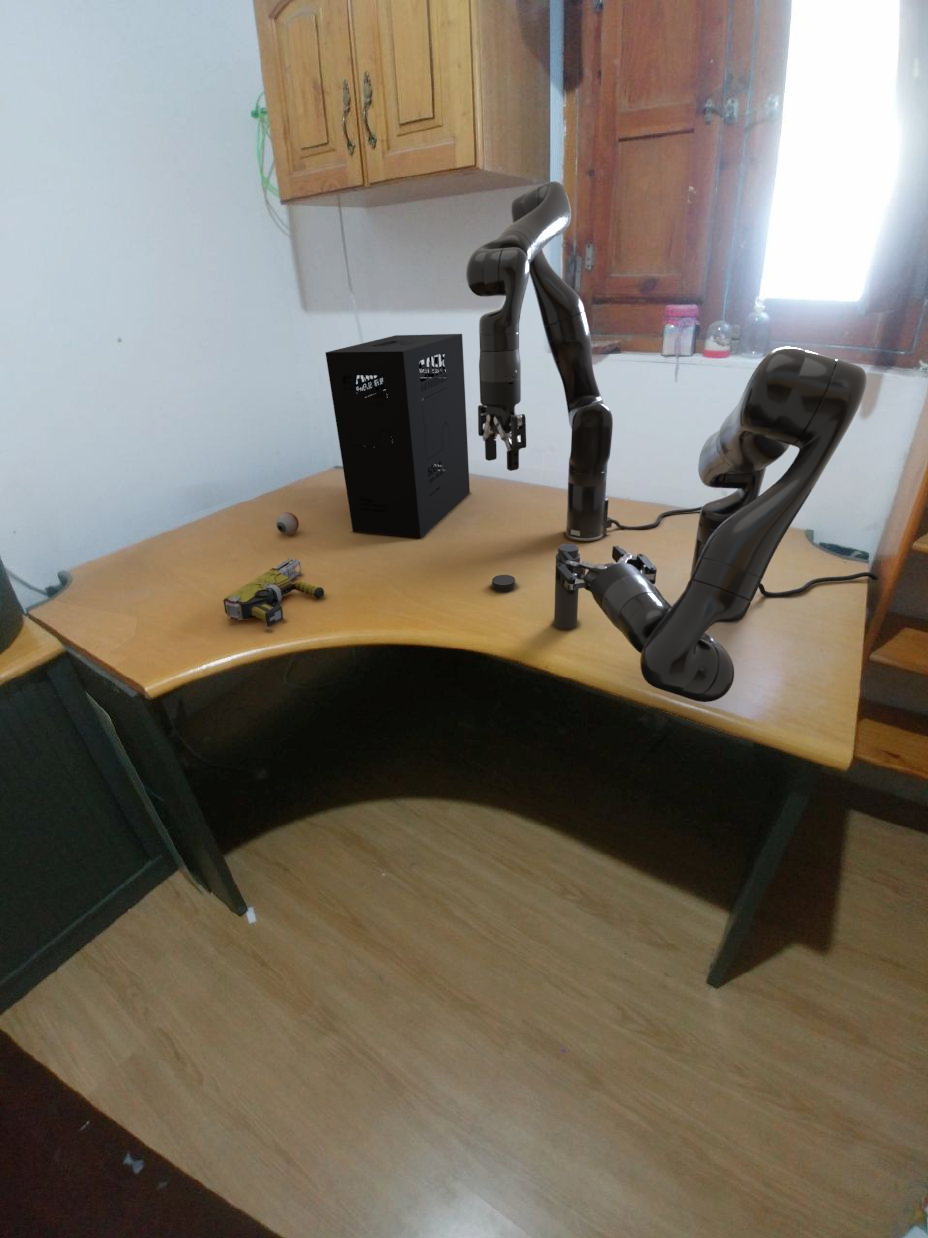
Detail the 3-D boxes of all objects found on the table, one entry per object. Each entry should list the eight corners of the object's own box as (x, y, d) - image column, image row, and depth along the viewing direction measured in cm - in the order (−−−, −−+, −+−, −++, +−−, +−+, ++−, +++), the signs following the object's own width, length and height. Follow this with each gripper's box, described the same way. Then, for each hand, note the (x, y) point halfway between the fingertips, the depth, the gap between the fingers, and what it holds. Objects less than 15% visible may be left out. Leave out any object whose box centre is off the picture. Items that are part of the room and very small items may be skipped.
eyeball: (273, 537, 164) (268, 516, 161) (287, 528, 169) (282, 508, 166) (291, 539, 161) (286, 518, 158) (305, 530, 166) (301, 510, 163)
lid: (516, 591, 129) (516, 584, 128) (492, 593, 129) (492, 585, 128) (514, 581, 134) (514, 573, 133) (491, 582, 134) (491, 575, 133)
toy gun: (343, 567, 137) (286, 555, 141) (282, 613, 117) (218, 598, 121) (344, 585, 139) (288, 574, 143) (284, 634, 119) (221, 619, 123)
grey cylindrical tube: (557, 617, 119) (559, 541, 111) (579, 620, 117) (583, 544, 109) (551, 627, 116) (553, 550, 108) (573, 631, 114) (577, 553, 106)
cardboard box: (410, 488, 194) (395, 335, 172) (469, 492, 188) (462, 333, 165) (352, 531, 164) (325, 352, 142) (420, 538, 158) (403, 351, 135)
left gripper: (464, 374, 114) (468, 459, 122) (501, 383, 103) (503, 476, 111) (498, 370, 117) (500, 453, 125) (538, 378, 106) (537, 469, 114)
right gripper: (681, 569, 82) (632, 527, 96) (581, 582, 81) (546, 537, 95) (674, 617, 86) (628, 570, 100) (578, 630, 84) (545, 580, 98)
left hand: (501, 464), depth 118 cm, fingers open, 8 cm apart
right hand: (588, 554), depth 97 cm, fingers open, 8 cm apart
